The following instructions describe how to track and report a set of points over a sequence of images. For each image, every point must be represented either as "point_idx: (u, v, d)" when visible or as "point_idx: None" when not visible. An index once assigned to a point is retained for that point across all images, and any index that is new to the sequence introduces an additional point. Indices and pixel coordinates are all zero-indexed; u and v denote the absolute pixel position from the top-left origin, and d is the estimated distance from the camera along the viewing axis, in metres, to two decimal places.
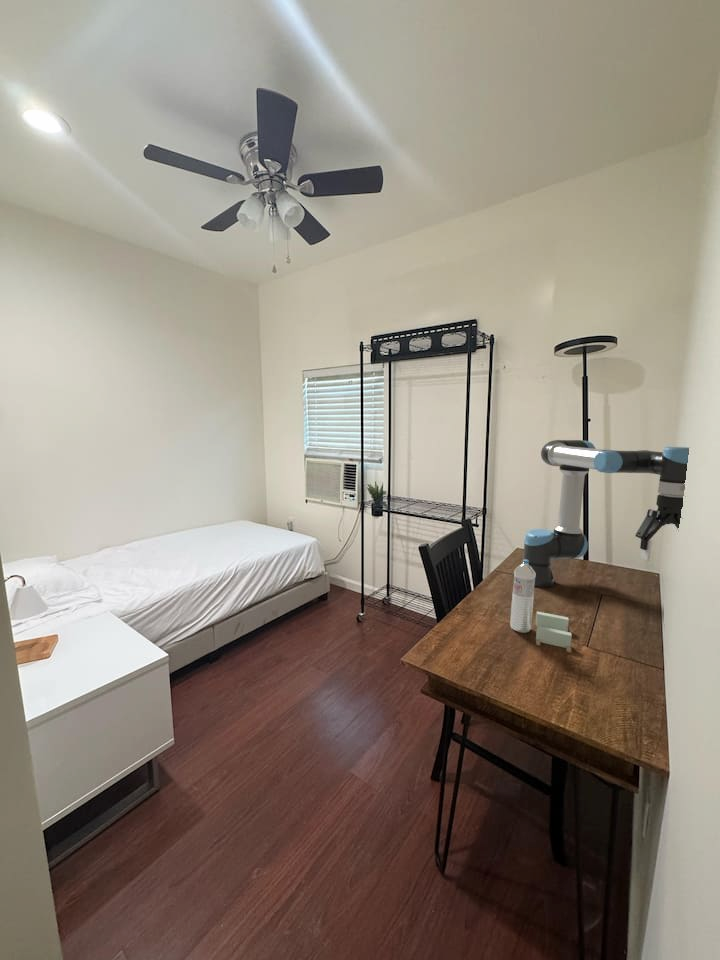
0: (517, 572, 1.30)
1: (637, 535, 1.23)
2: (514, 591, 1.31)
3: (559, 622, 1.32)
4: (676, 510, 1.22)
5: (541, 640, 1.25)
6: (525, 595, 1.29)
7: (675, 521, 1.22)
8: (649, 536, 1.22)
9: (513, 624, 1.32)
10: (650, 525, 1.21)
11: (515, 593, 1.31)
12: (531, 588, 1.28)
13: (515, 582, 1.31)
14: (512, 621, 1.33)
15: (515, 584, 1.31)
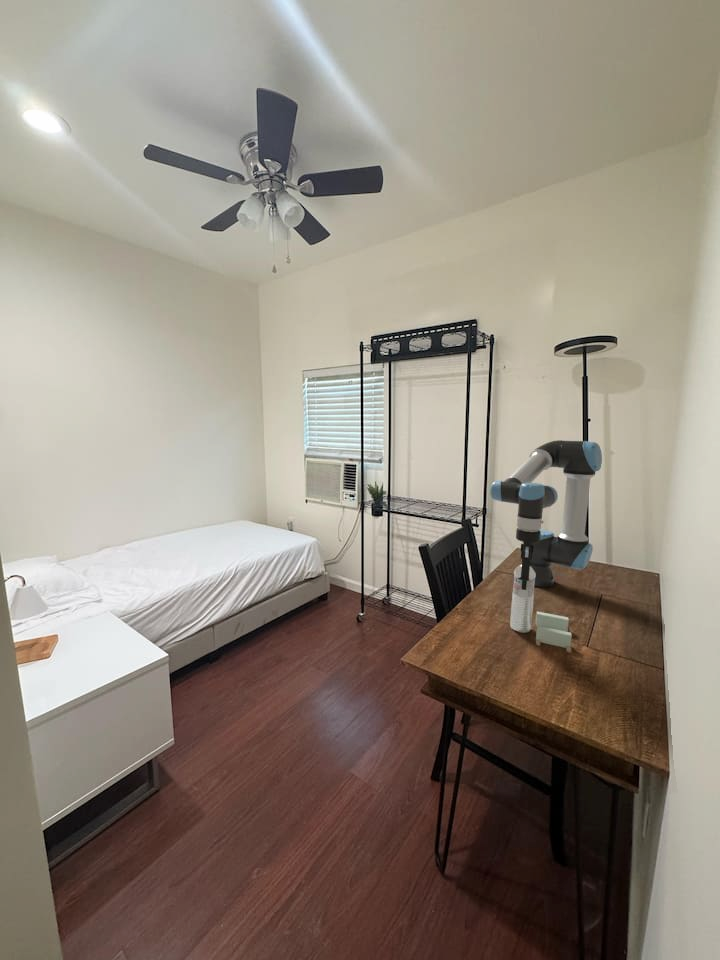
0: (517, 572, 1.30)
1: (523, 579, 1.25)
2: (514, 591, 1.31)
3: (559, 622, 1.32)
4: None
5: (541, 640, 1.25)
6: None
7: None
8: None
9: (513, 624, 1.32)
10: (529, 566, 1.24)
11: (515, 593, 1.31)
12: (531, 588, 1.28)
13: (515, 582, 1.31)
14: (512, 621, 1.33)
15: (515, 584, 1.31)
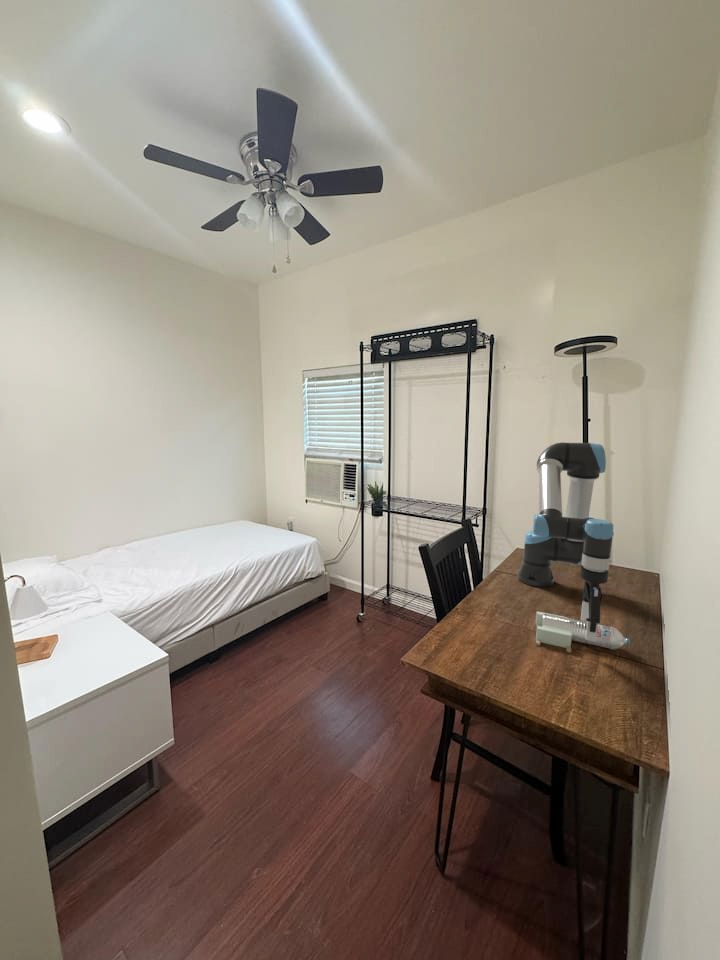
0: (616, 634, 1.20)
1: (593, 620, 1.15)
2: None
3: None
4: None
5: (541, 640, 1.25)
6: None
7: None
8: None
9: (549, 620, 1.28)
10: None
11: None
12: (597, 644, 1.22)
13: (602, 629, 1.22)
14: (552, 619, 1.28)
15: (599, 629, 1.22)
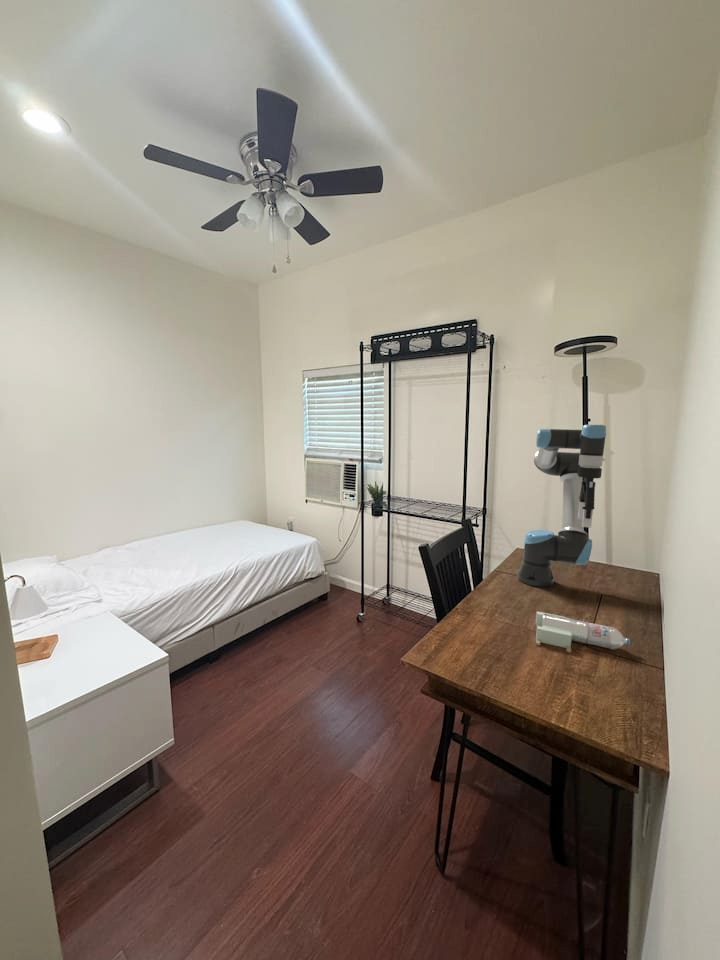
0: (616, 634, 1.20)
1: (588, 507, 1.34)
2: (589, 626, 1.24)
3: None
4: None
5: (541, 640, 1.25)
6: (589, 638, 1.22)
7: None
8: None
9: (549, 620, 1.28)
10: (594, 495, 1.35)
11: (588, 628, 1.23)
12: (597, 644, 1.22)
13: (602, 629, 1.22)
14: (552, 619, 1.28)
15: (599, 629, 1.22)
